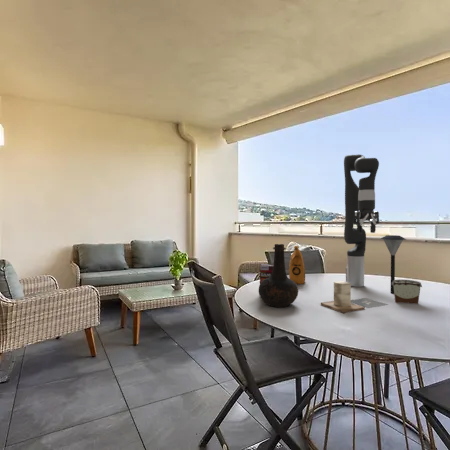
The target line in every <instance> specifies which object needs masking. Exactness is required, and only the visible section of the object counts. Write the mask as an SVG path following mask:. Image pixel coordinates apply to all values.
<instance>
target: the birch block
mask: <svg viewBox="0 0 450 450" xmlns="http://www.w3.org/2000/svg"><path fill="white" fill-rule="evenodd" d="M351 289H352V286H351V283H348V282H346V281H344V280H342V281H333V301H334V304H335V305H337V306H340V307H345V306H351V300H352V297H351V295H352V292H351Z"/></svg>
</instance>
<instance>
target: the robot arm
mask: <svg viewBox="0 0 450 450" xmlns="http://www.w3.org/2000/svg"><path fill="white" fill-rule="evenodd" d="M379 167H380V162H379V160H378V158H377V157H365V156H364V155H363V154H346V155H345V156H344V158H343V171H344V172H343V173H344V208H345V209H344V213H345V215H344V217H345V218H344V231H343V238H344V242H345V243H346V244H347V245H354V246H353V247H352V248H350V249H348V250H347V251H346V254H347V255H346V268H345V282H348V283H351V287H355V288H357V287H358V288H359V287H361V288H362V287H364V286H365V253H366V245H367V233H366V230H365V229H364V228H363V224H364V223H365V222H366V221H367V222H369V224H370V233H371V234H375V233H376V228H377V226H376V225H378V224H380V213H379V211H374V210H375V208H376V192H375V191H376V190H375V188H376V187H375V184H376V183H375V182H376V177H377V173H378V170H379ZM351 172H356V173H359V174H366V173H368V174H369V173H370V174H369V175H368V176H366V177H361V178H360V179H359V180H358V185H357V184H356V182H355V181H354V178H353V176H352V174H351ZM354 225H356V227H354Z"/></svg>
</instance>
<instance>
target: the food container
mask: <svg viewBox="0 0 450 450" xmlns="http://www.w3.org/2000/svg"><path fill="white" fill-rule="evenodd" d="M392 285H393V287H394V302H395V303H401V304H416V305H419V302H420V301H419V300H420V292H421V288H423V286H422V283H421V282H420V281H417V280H413V279H412V280H411V279H395V280H393V282H392Z"/></svg>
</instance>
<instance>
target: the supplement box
mask: <svg viewBox="0 0 450 450" xmlns="http://www.w3.org/2000/svg"><path fill="white" fill-rule="evenodd" d="M272 270H273V264H264V263H261V264H260V265H259V284H260V283H261V282H262V281H263V280H265V279H267V278H269V277H270V276H271V274H272Z"/></svg>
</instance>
